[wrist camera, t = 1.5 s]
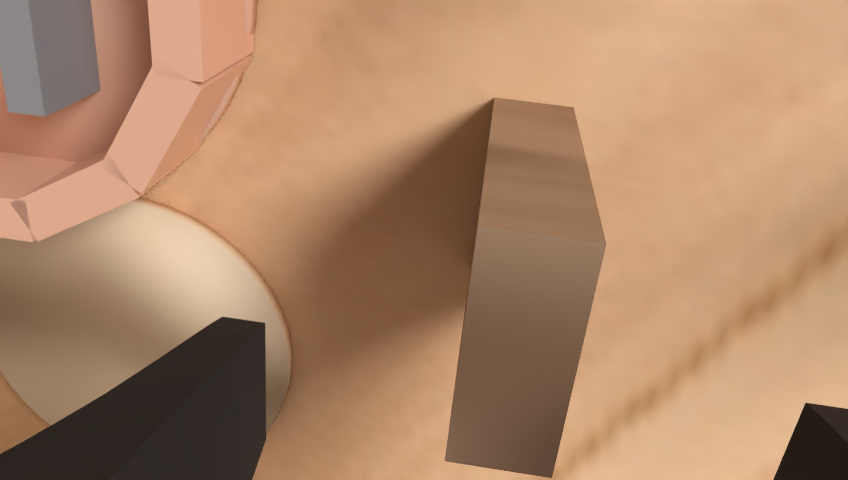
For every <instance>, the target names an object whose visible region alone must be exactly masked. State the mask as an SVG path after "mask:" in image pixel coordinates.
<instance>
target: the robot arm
mask: <svg viewBox="0 0 848 480" xmlns="http://www.w3.org/2000/svg"><path fill="white" fill-rule="evenodd" d="M265 440H266V345H265V323H263V322H256V321H249V320H242V319H236V318H229V317H221V318H219V319H217V320H216V321H214V322H213V323H211V324H209V325H208V326H206V327H205V328H203V329H202V330H200V331H199V332H197V333H196V334H194V335H193V336H191V337H190V338H188V339H187V340H185V341H184V342H183V343H181V344H180V345H178V346H177V347H175V348H174V349H172V350H171V351H169V352H168V353H166V354H165V355H163V356H162V357H160V358H159V359H157V360H156V361H154V362H153V363H151V364H150V365H148V366H147V367H145V368H144V369H142V370H140V371H139V372H137V373H136V374H134V375H133V376H131V377H130V378H128V379H127V380H125V381H124V382H122V383H120V384H119V385H117V386H116V387H114V388H113V389H111V390H110V391H108V392H107V393H105V394H103V395H102V396H100V397H99V398H97V399H95V400H93V401H92V402H90V403H88V404H87V405H85V406H83V407H82V408H80V409H78V410H76V411H75V412H73V413H71V414H70V415H68V416H66V417H65V418H63V419H61V420H59V421H58V422H56V423H54V424H53V425H51V426H49V427H48V428H46V429H44V430H43V431H41V432H39V433H37V434H36V435H34V436H32V437H31V438H29V439H27V440H25V441H24V442H22V443H20V444H18V445H16V446H14V447H13V448H11V449H9V450H7V451H5V452H3V453H1V454H0V480H252V478H253V475H254V473H255V470H256V467H257V464H258V461H259V458H260V455H261V452H262V449H263V446H264V443H265ZM774 480H848V409H844V408H837V407H830V406H823V405H817V404H810V403H805V406H804V408H803V410H802V413H801V415H800V418H799V420H798V422H797V425H796V427H795V430H794V432H793V434H792V437H791V439H790V441H789V444H788V446H787V449H786V451H785V453H784V456H783V458H782V461H781V463H780V465H779V468H778V470H777V472H776V475H775V477H774Z"/></svg>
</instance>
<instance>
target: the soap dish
mask: <svg viewBox="0 0 848 480" xmlns="http://www.w3.org/2000/svg"><path fill="white" fill-rule="evenodd" d="M256 18H257V0H0V238H7V239H14V240H21V241H28V242H33V241H35V240H37V241H40V240H43V239H45V238H47V237H50V236H52V235H54V234H57V233H59V232H61V231H63V230H66V229H68V228H70V227H73V226H75V225H77V224H80V223H82V222H84V221H87V220H89V219H91V218H93V217H96V216H98V215H100V214H103V213H105V212H107V211H110V210H112V209H114V208H117V207H119V206H121V205H123V204H126V203H128V202H130V201H133V200H135V199H137V198H139V197H140V196H141V195H143V194H144V193H145V192H146V191H148V190H149V189H150V188H151V187H152V186H154V185H155V184H156V183H157V182H159V181H160V180H161V179H162V178H164V177H165V176H166V175H167V174H169V173H170V172H171V171H172V170H174V169H175V168H176V167H177V166H178V165H180V164H181V163H182V162H183V161H185V160H186V159H187V158H188V157H190V156H191V155H192V154H193V153H195V151H197V150H198V149H199V148H200V146H201V144H202V143H203V141H204V139H205V138H206V136H207V135H208V134H209V133H210V132H211V131H212V130H213V129H214V127H215V126H216V124H217V123H218V121H219V120H220V118H221V117H222V116H223V114H224V113H225V111H226V110H227V108H228V107H229V105H230V103H231V101H232V99H233V97H234V95H235V93H236V91H237V89H238V87H239V85H240V83H241V81H242V78H243V75H244V71H245V70H246V68H247V66H248V64H249V63H250V61H251V59H252V58H253V57H252V56H251V55H250V53H252V52H254V32H255V26H256Z"/></svg>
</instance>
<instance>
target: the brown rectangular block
mask: <svg viewBox="0 0 848 480" xmlns="http://www.w3.org/2000/svg"><path fill="white" fill-rule="evenodd" d="M605 246H606V241H605V237H604V233H603V229H602V225H601V220H600V216H599V212H598V208H597V204H596V200H595V195H594V191H593V187H592V183H591V179H590V174H589V170H588V166H587V162H586V158H585V153H584V149H583V145H582V141H581V137H580V132H579V128H578V124H577V120H576V116H575V112H574V108H572V107H564V106H556V105H548V104H540V103H532V102H524V101H516V100H508V99H500V98H494V104H493V111H492V118H491V126H490V133H489V140H488V147H487V154H486V161H485V168H484V176H483V183H482V190H481V197H480V204H479V211H478V219H477V226H476V233H475V240H474V247H473V254H472V261H471V269H470V276H469V284H468V291H467V299H466V306H465V314H464V321H463V329H462V336H461V344H460V351H459V359H458V366H457V374H456V381H455V389H454V396H453V404H452V411H451V419H450V426H449V434H448V441H447V449H446V456H445V461H448V462H454V463H460V464H467V465H473V466H479V467H486V468H492V469H498V470H505V471H511V472H517V473H523V474H530V475H536V476H542V477H549V478H552V475H553V471H554V466H555V462H556V458H557V453H558V449H559V445H560V440H561V436H562V432H563V427H564V423H565V419H566V414H567V410H568V406H569V402H570V397H571V393H572V389H573V384H574V380H575V376H576V371H577V367H578V363H579V358H580V354H581V350H582V345H583V341H584V337H585V333H586V328H587V324H588V320H589V315H590V311H591V307H592V302H593V298H594V294H595V289H596V285H597V281H598V276H599V272H600V268H601V264H602V259H603V255H604V251H605Z"/></svg>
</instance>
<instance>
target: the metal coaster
mask: <svg viewBox="0 0 848 480" xmlns="http://www.w3.org/2000/svg"><path fill="white" fill-rule="evenodd" d="M221 317H229V318H236V319H242V320H249V321H256V322H263V323H265V345H266V431H267V430H268V428H269V427H270V426H271V424H272V423H273V421H274V420H275V418H276V417H277V414H278V412H279V410H280V408H281V406H282V404H283V401H284V399H285V397H286V395H287V391H288V388H289V384H290V380H291V372H292V348H291V341H290V336H289V332H288V327H287V324H286V321H285V319H284V316H283V313H282V310H281V308H280V306H279V304H278V302H277V300H276V298H275V296H274V295H273V293H272V291H271V289H270V288H269V286H268V285H267V283H266V282H265V280H264V279H263V278H262V276H261V275H260V273H259V272H258V271H257V270H256V269H255V267H254V266H253V265H252V264H251V263H250V262H249V260H248V259H247V258H246V257H245V256H244V255H243V254H242V253H241V252H240V251H239V250H237V249H236V248H235V247H234V246H233V245H232V244H231V243H230V242H229V241H228V240H226V239H225V238H223V237H222V236H221V235H219V234H218V233H217V232H215V231H214V230H213V229H211V228H210V227H208V226H207V225H205V224H203V223H201V222H200V221H198V220H196V219H195V218H193V217H191V216H189V215H187V214H185V213H183V212H181V211H178V210H176V209H174V208H172V207H169V206H167V205H164V204H160V203H157V202H154V201H151V200H148V199H144V198H137V199H135V200H133V201H130V202H128V203H126V204H123V205H121V206H119V207H117V208H114V209H112V210H110V211H107V212H105V213H103V214H100V215H98V216H96V217H93V218H91V219H89V220H87V221H84V222H82V223H80V224H77V225H75V226H73V227H70V228H68V229H66V230H63V231H61V232H59V233H57V234H54V235H52V236H50V237H47V238H45V239H43V240H40V241H37V240H35V241H33V242H28V241H21V240H14V239H7V238H0V371H1V373H2V375H3V376H4V377H5V379H6V380H7V381H8V383H9V384H10V386H11V387H12V388H13V390H14V391H15V392H16V393H17V394H18V395H19V397H20V398H21V399H22V400H23V401H24V402H25V403H26V404H27V405H28V406H29V407H30V408H31V409H32V410H33V411H34V412H35V413H36V414H37V415H38V416H39V417H40V418H42V419H43V420H44V421H46V422H47V423H48V424H49V425H53V424H54V423H56V422H58V421H59V420H61V419H63V418H65V417H66V416H68V415H70V414H71V413H73V412H75V411H76V410H78V409H80V408H82V407H83V406H85V405H87V404H88V403H90V402H92V401H93V400H95V399H97V398H99V397H100V396H102V395H103V394H105V393H107V392H108V391H110V390H111V389H113V388H114V387H116V386H117V385H119V384H120V383H122V382H124V381H125V380H127V379H128V378H130V377H131V376H133V375H134V374H136V373H137V372H139V371H140V370H142V369H144V368H145V367H147V366H148V365H150V364H151V363H153V362H154V361H156V360H157V359H159V358H160V357H162V356H163V355H165V354H166V353H168V352H169V351H171V350H172V349H174V348H175V347H177V346H178V345H180V344H181V343H183V342H184V341H185V340H187V339H188V338H190V337H191V336H193V335H194V334H196V333H197V332H199V331H200V330H202V329H203V328H205V327H206V326H208V325H209V324H211V323H213V322H214V321H216V320H217V319H219V318H221Z"/></svg>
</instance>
